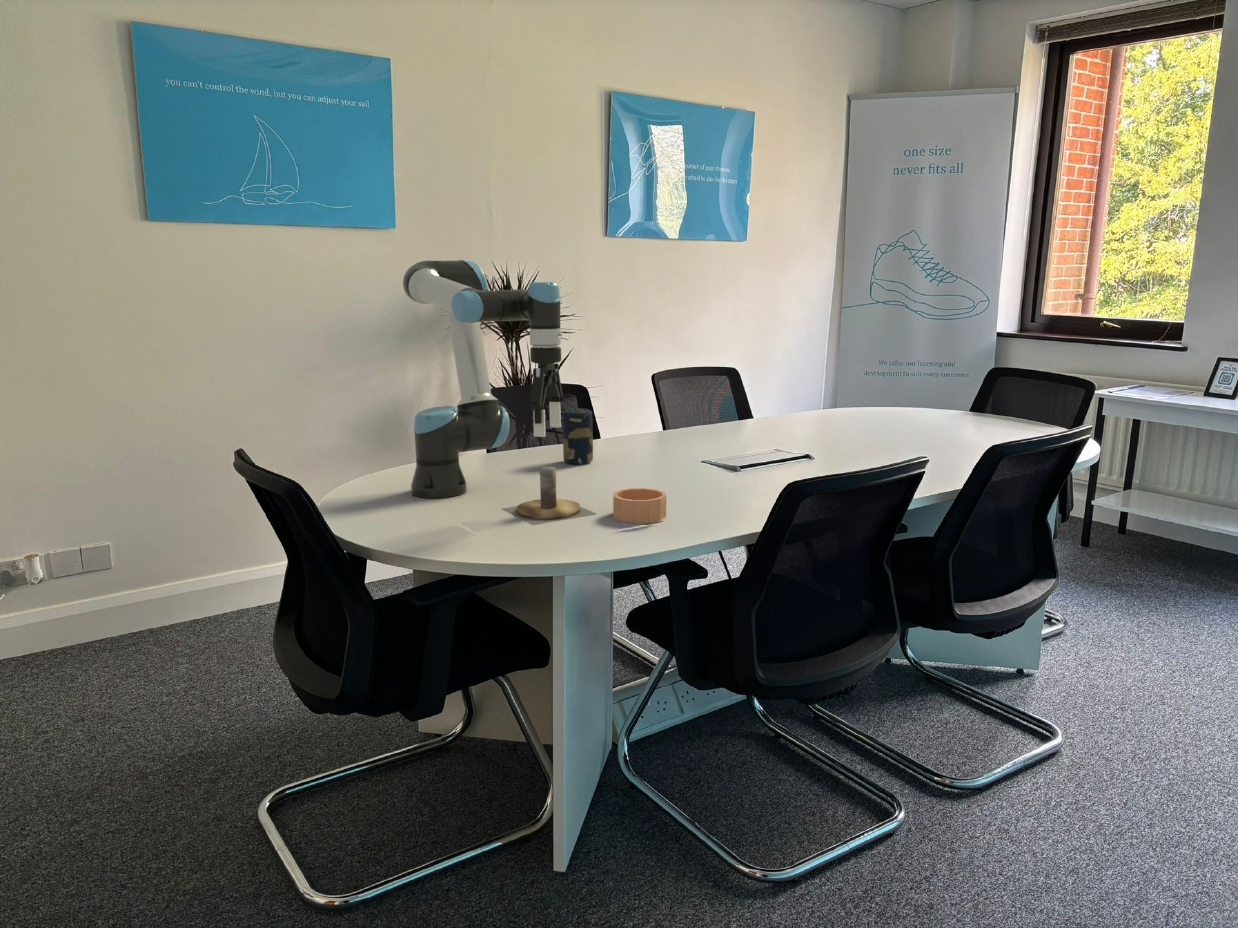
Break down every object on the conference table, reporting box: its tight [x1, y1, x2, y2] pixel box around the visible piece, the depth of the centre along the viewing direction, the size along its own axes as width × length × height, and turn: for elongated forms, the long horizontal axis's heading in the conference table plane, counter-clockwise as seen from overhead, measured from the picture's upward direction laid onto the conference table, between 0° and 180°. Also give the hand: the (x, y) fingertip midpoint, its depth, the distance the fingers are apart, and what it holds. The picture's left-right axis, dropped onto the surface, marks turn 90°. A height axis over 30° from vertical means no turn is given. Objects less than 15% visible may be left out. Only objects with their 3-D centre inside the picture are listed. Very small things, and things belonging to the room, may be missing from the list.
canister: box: [562, 406, 594, 465], centre depth 287 cm, size 10×10×18 cm
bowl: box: [612, 487, 667, 526], centre depth 223 cm, size 13×13×6 cm
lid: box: [516, 465, 581, 520], centre depth 227 cm, size 16×16×11 cm
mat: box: [501, 505, 598, 526], centre depth 228 cm, size 18×18×1 cm
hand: (547, 431), depth 225 cm, fingers open, 13 cm apart
